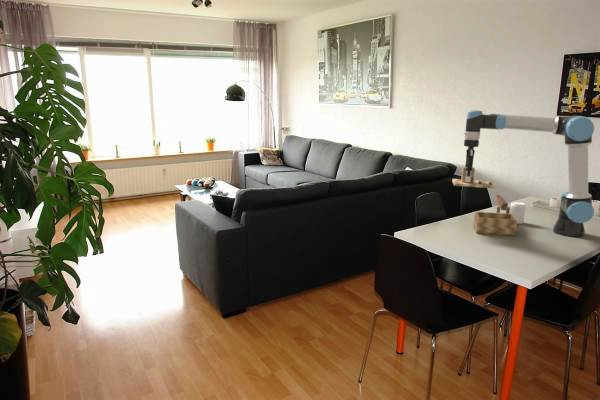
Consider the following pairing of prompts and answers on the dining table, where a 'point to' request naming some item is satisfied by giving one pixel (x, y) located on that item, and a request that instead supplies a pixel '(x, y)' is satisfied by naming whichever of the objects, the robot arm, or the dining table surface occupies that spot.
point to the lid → (472, 181)
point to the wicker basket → (495, 223)
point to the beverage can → (518, 211)
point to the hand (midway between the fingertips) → (467, 181)
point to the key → (501, 202)
